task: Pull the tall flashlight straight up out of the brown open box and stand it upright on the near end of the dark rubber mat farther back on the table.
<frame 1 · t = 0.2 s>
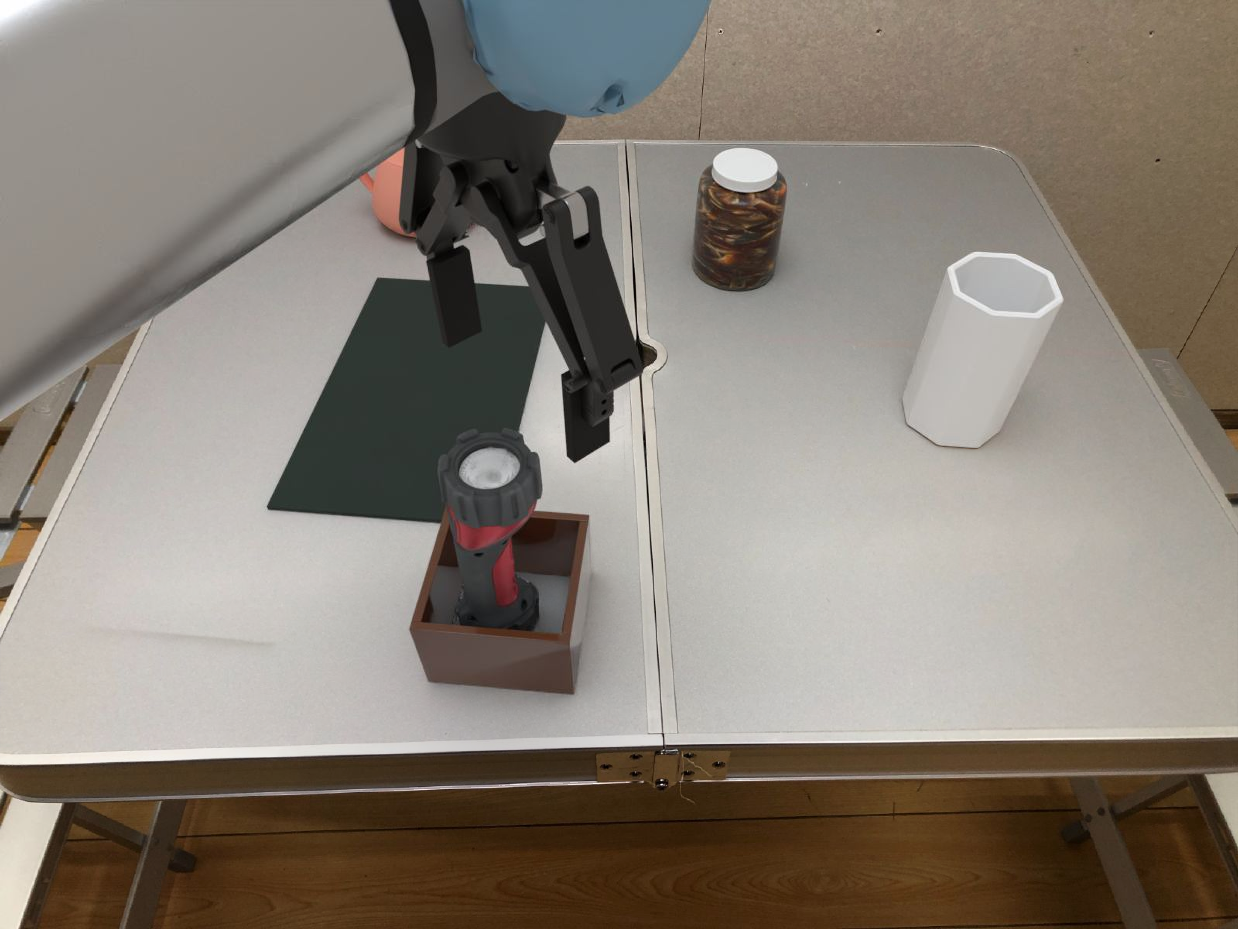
hand: (521, 389, 53), 31 cm above the table, tool pointing down, fingers open, 13 cm apart
flashlight: (514, 625, 78), resting in brown open box
brown open box: (514, 624, 78), on the table
jar: (733, 266, 116), on the table
cup: (949, 416, 96), on the table
mat: (428, 386, 100), on the table
teapot: (435, 218, 124), on the table
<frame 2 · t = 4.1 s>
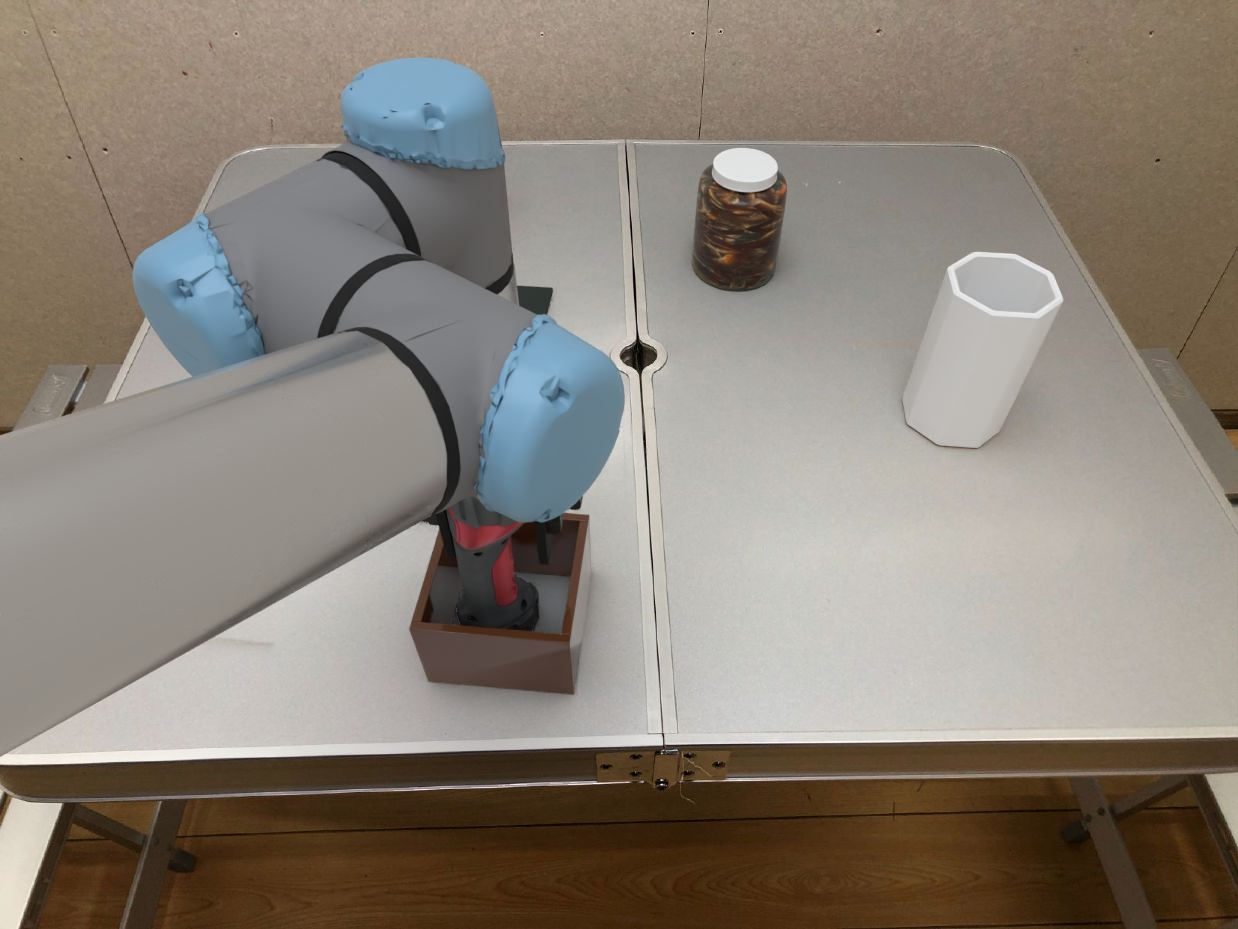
hand: (500, 547, 69), 12 cm above the table, tool pointing down, fingers closed on flashlight, 7 cm apart
flashlight: (514, 625, 78), resting in brown open box, touching gripper
everything else where it was.
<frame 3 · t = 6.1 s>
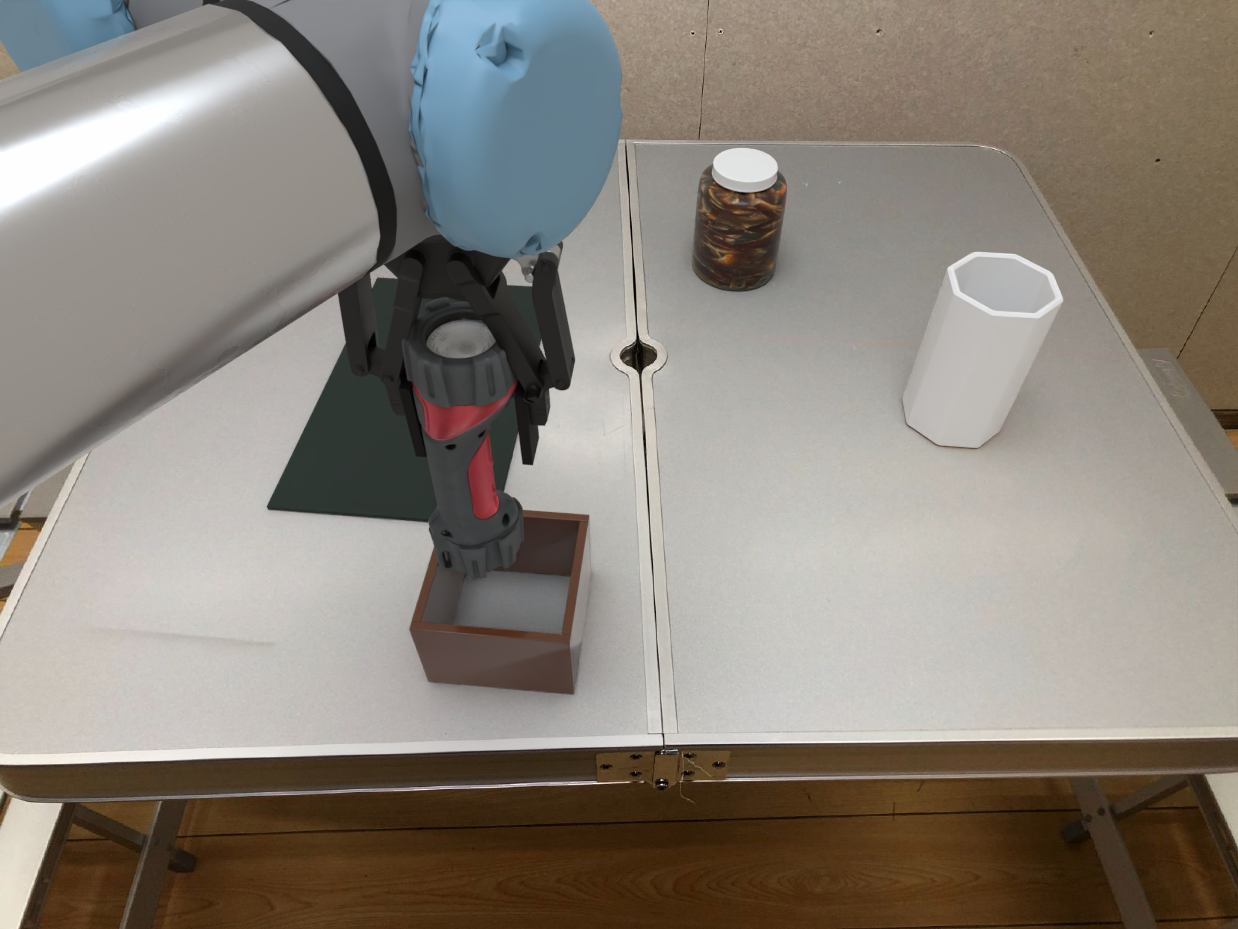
hand: (478, 446, 60), 24 cm above the table, tool pointing down, fingers closed on flashlight, 7 cm apart
flashlight: (495, 548, 69), point 12 cm above the table, touching gripper
everything else where it was.
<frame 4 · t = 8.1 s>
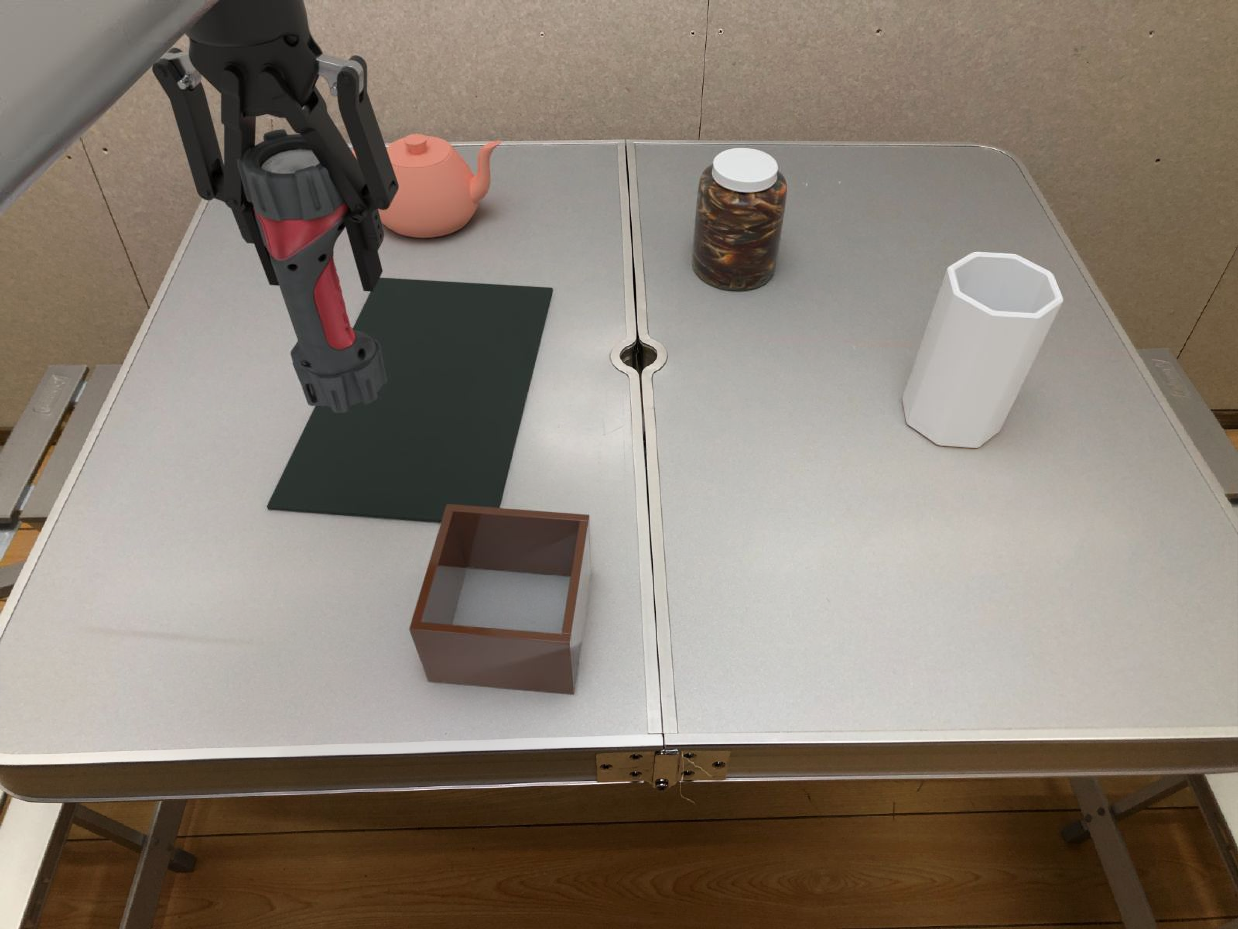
hand: (326, 277, 67), 28 cm above the table, tool pointing down, fingers closed on flashlight, 7 cm apart
flashlight: (361, 389, 76), point 16 cm above the table, touching gripper
everything else where it was.
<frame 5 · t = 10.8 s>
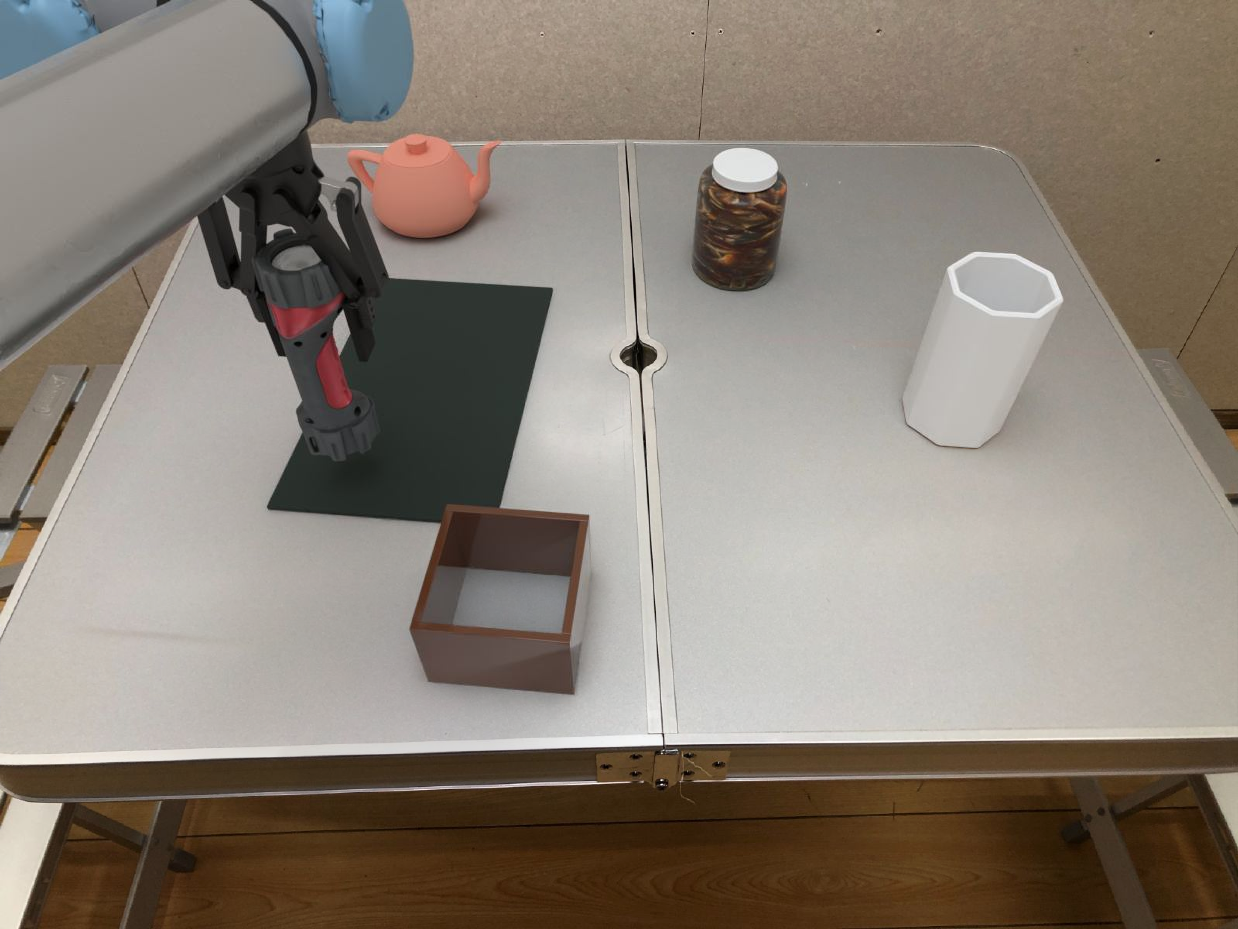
hand: (327, 349, 78), 17 cm above the table, tool pointing down, fingers closed on flashlight, 7 cm apart
flashlight: (357, 439, 87), point 5 cm above the table, touching gripper
everything else where it was.
when the fingers open (13 cm above the table, at t = 12.4 s): flashlight stays where it is, resting on mat.
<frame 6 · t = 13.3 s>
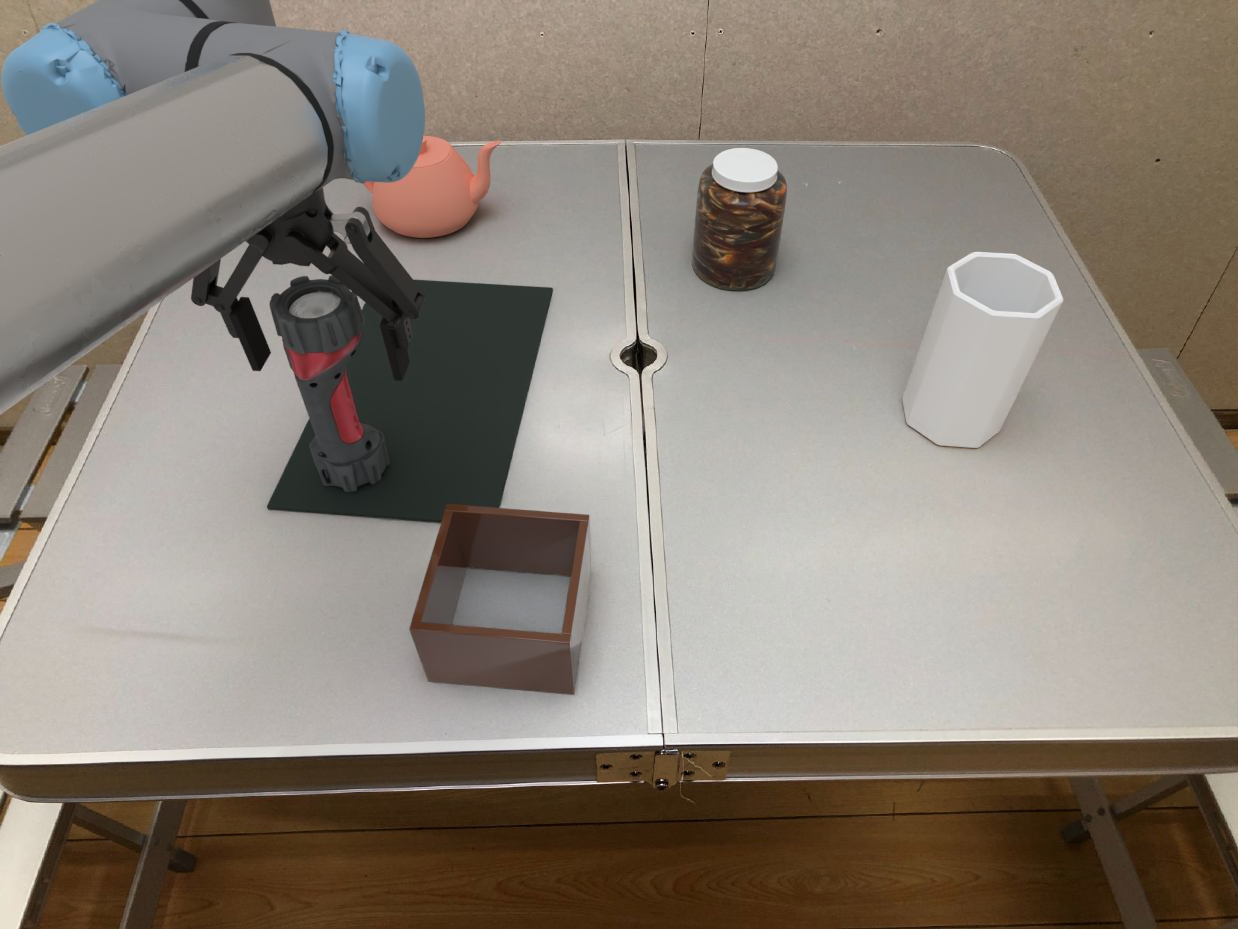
hand: (331, 366, 79), 15 cm above the table, tool pointing down, fingers open, 13 cm apart
flashlight: (368, 470, 90), resting on mat
everything else where it was.
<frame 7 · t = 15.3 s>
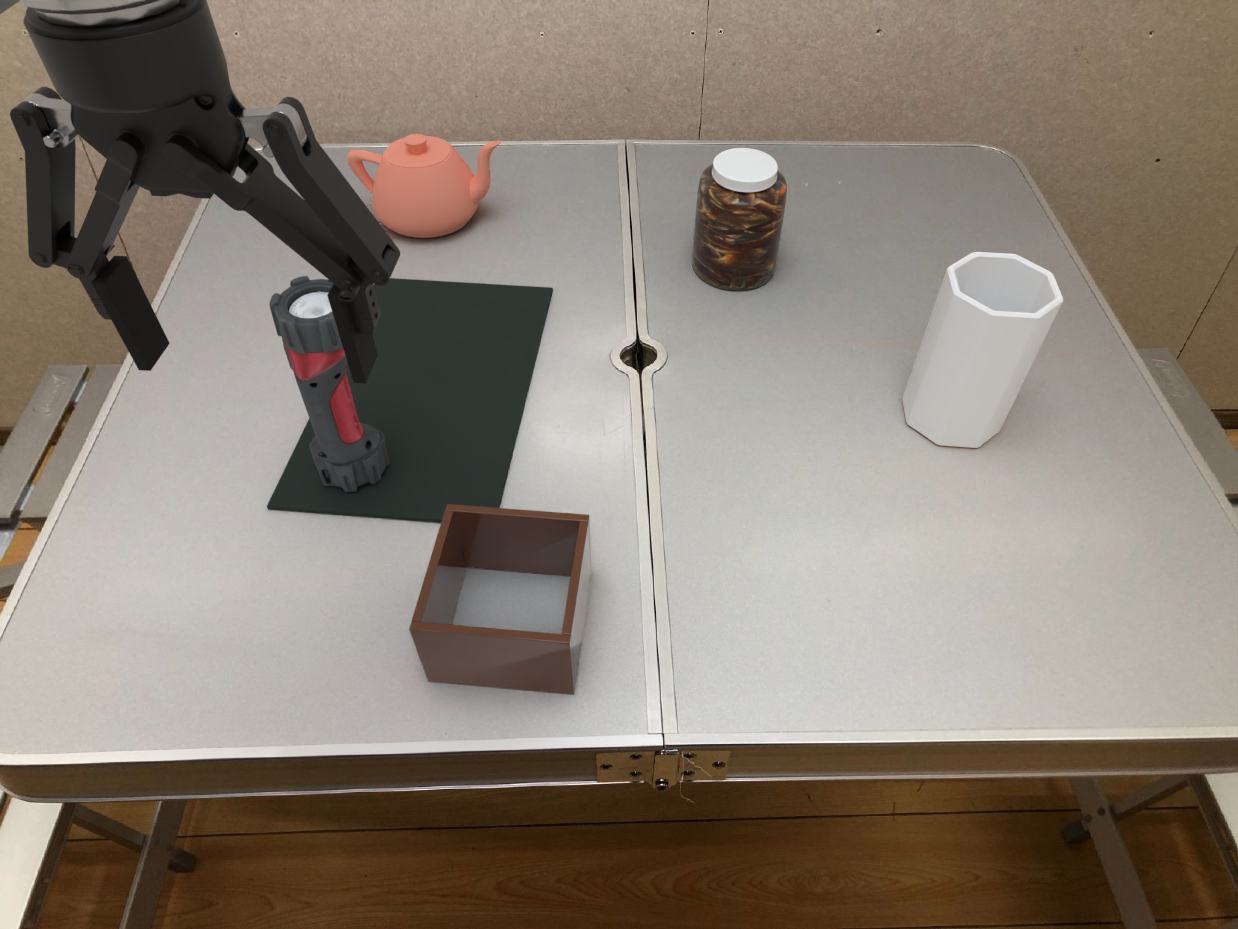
hand: (259, 363, 53), 33 cm above the table, tool pointing down, fingers open, 13 cm apart
nothing on the table moved.
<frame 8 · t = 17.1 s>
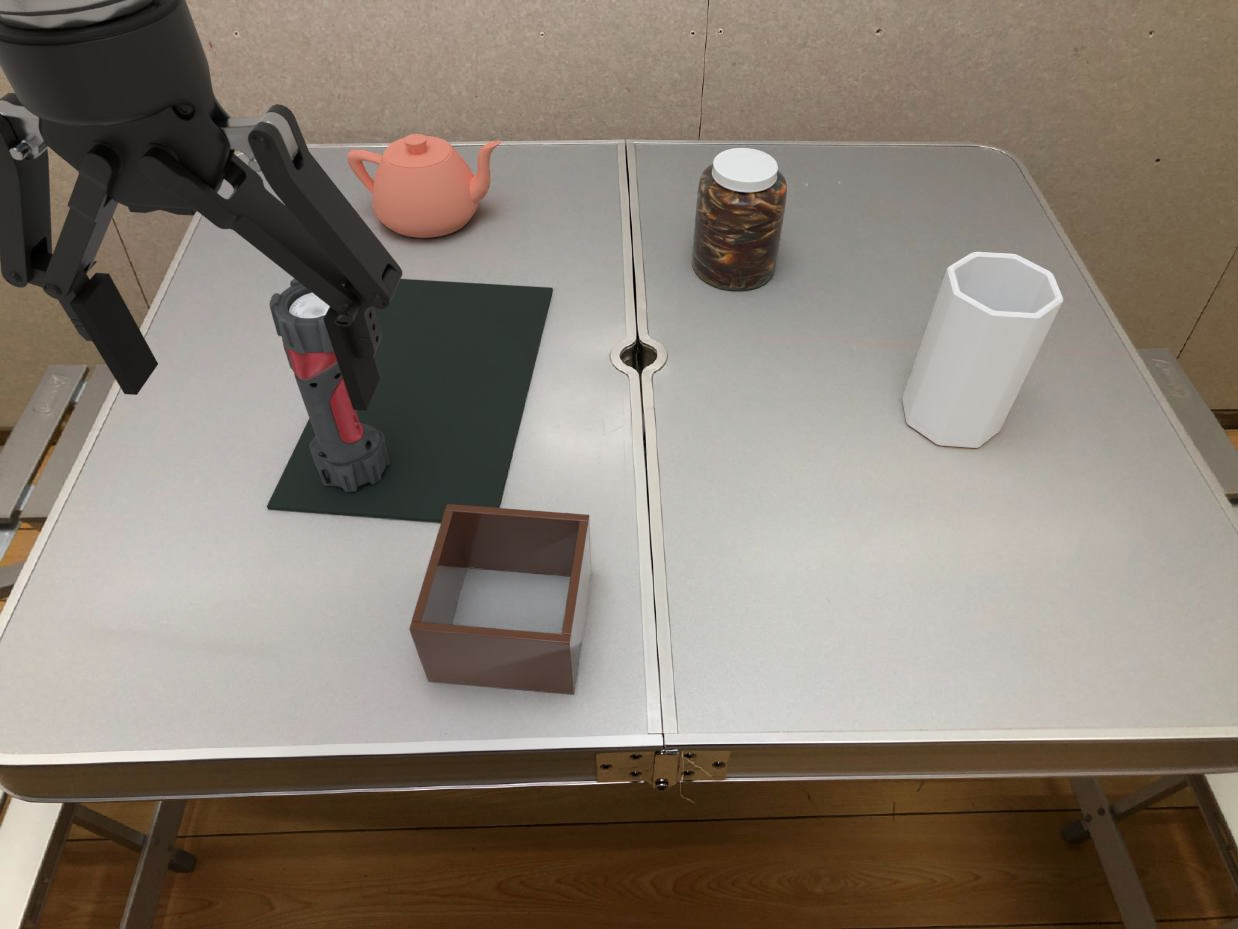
hand: (253, 387, 49), 35 cm above the table, tool pointing down, fingers open, 13 cm apart
nothing on the table moved.
at the end: flashlight inside the target area on the mat (0.0 cm from its centre), point 0.3 cm above the mat's base; flashlight tilted 0° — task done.
